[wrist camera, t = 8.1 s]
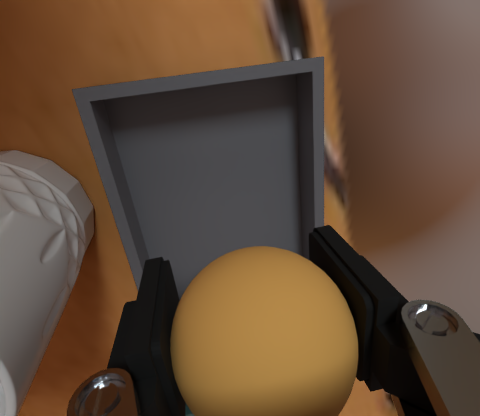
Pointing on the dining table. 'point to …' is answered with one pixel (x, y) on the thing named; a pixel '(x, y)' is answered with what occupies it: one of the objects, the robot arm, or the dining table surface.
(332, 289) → the ball
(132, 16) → the dining table surface
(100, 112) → the tray
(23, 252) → the white cup
